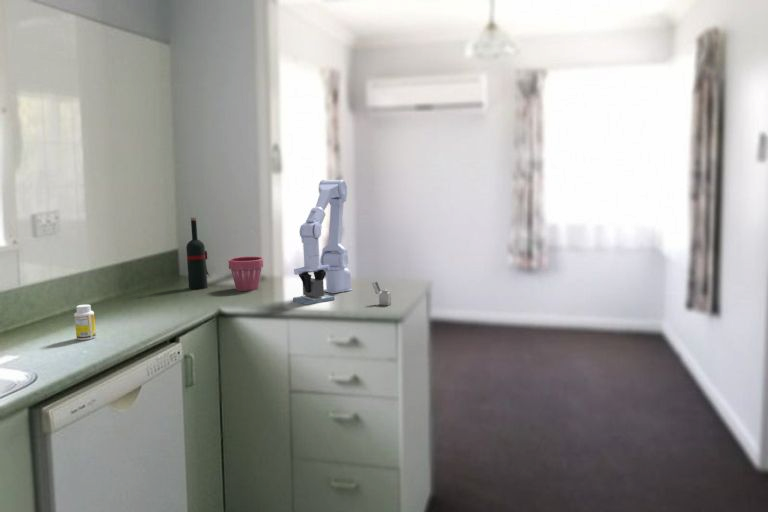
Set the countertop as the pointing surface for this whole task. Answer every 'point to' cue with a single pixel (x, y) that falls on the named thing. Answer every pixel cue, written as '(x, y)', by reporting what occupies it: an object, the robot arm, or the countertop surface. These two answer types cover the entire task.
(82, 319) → the supplement bottle
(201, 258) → the wine bottle
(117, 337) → the countertop surface
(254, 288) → the plant pot
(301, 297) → the header board
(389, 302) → the lighter
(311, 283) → the block
